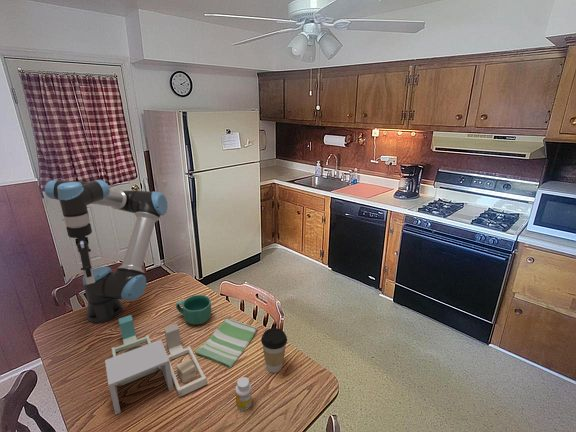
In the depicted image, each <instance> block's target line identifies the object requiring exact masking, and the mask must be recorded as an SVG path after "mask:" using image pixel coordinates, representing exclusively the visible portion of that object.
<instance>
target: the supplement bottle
mask: <svg viewBox="0 0 576 432" xmlns="http://www.w3.org/2000/svg"><path fill="white" fill-rule="evenodd" d="M234 392H235V405H236V407H237V409H238V410H241V411H244V410H245V411H246V410H248V409H249V408H250V407H251V405H252V404H253V400H252V399H253V397H252V396H253V395H252V385H251V383H250V380H249V378H248V377H245V376H242V377H240V378H238V380H237V381H236V386H235V391H234Z"/></svg>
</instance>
